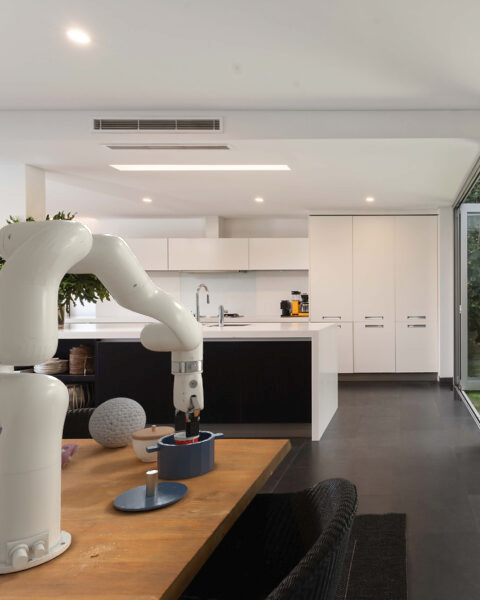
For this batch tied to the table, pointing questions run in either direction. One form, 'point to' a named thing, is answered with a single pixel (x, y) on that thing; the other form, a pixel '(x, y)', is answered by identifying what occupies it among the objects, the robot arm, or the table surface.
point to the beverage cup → (184, 438)
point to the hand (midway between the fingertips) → (186, 432)
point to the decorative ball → (116, 422)
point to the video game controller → (67, 453)
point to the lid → (150, 494)
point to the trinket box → (148, 441)
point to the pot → (185, 456)
